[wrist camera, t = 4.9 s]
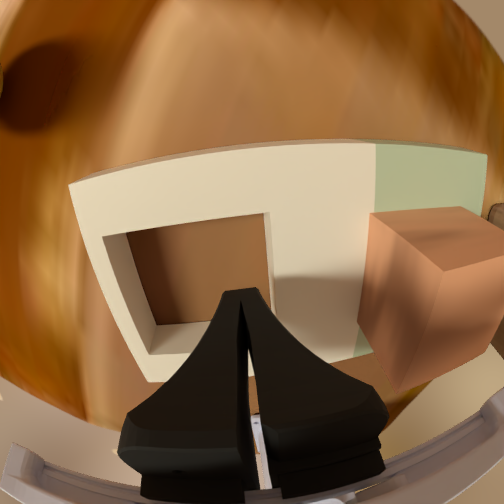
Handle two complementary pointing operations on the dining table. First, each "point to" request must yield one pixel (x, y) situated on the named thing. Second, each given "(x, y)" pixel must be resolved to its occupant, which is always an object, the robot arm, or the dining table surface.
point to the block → (430, 291)
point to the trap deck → (269, 227)
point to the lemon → (1, 79)
